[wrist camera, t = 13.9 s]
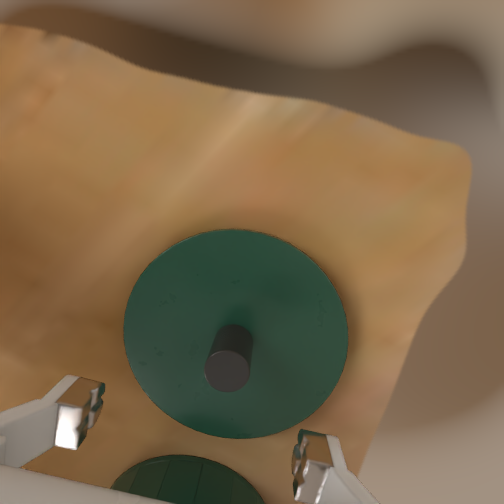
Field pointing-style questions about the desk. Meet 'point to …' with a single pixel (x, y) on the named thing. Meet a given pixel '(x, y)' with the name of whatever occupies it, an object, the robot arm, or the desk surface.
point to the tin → (187, 482)
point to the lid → (235, 333)
